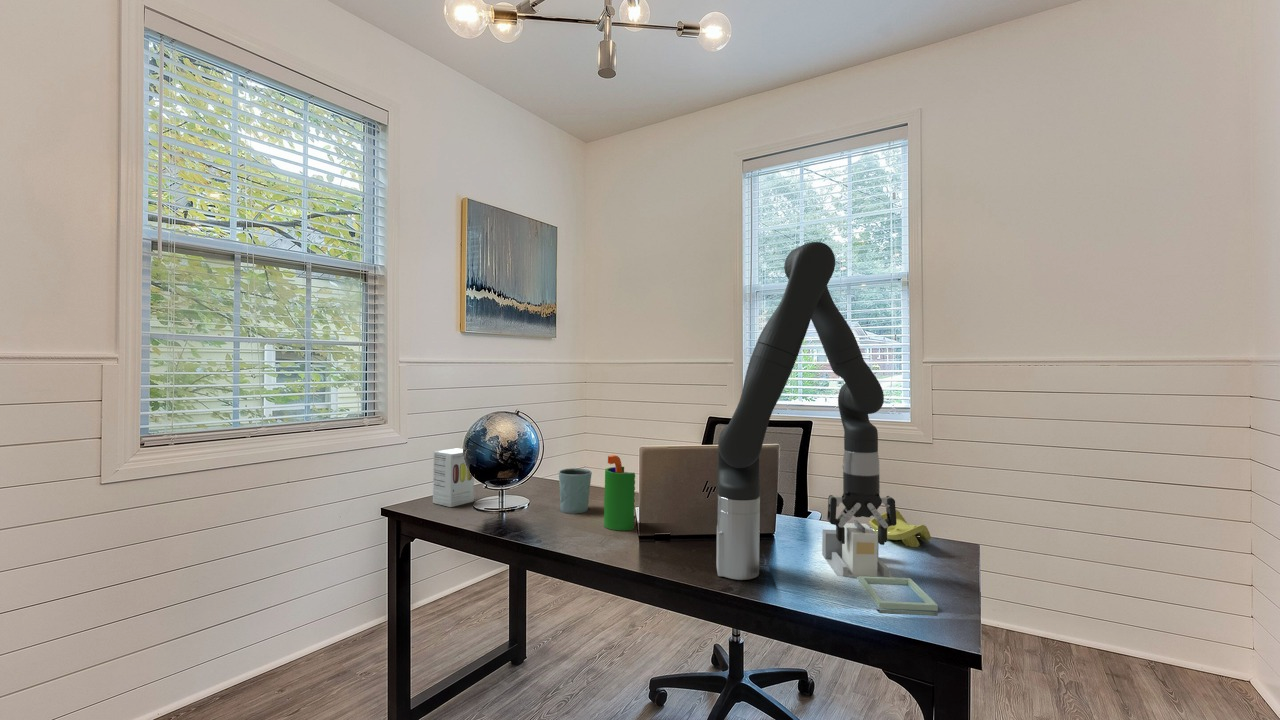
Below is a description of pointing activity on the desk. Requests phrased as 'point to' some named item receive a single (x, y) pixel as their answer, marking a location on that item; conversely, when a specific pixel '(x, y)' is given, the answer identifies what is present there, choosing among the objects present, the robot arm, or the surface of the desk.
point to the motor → (619, 497)
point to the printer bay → (846, 572)
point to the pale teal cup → (574, 490)
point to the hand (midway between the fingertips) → (861, 543)
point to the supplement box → (451, 479)
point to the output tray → (927, 605)
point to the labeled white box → (860, 549)
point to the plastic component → (903, 531)
